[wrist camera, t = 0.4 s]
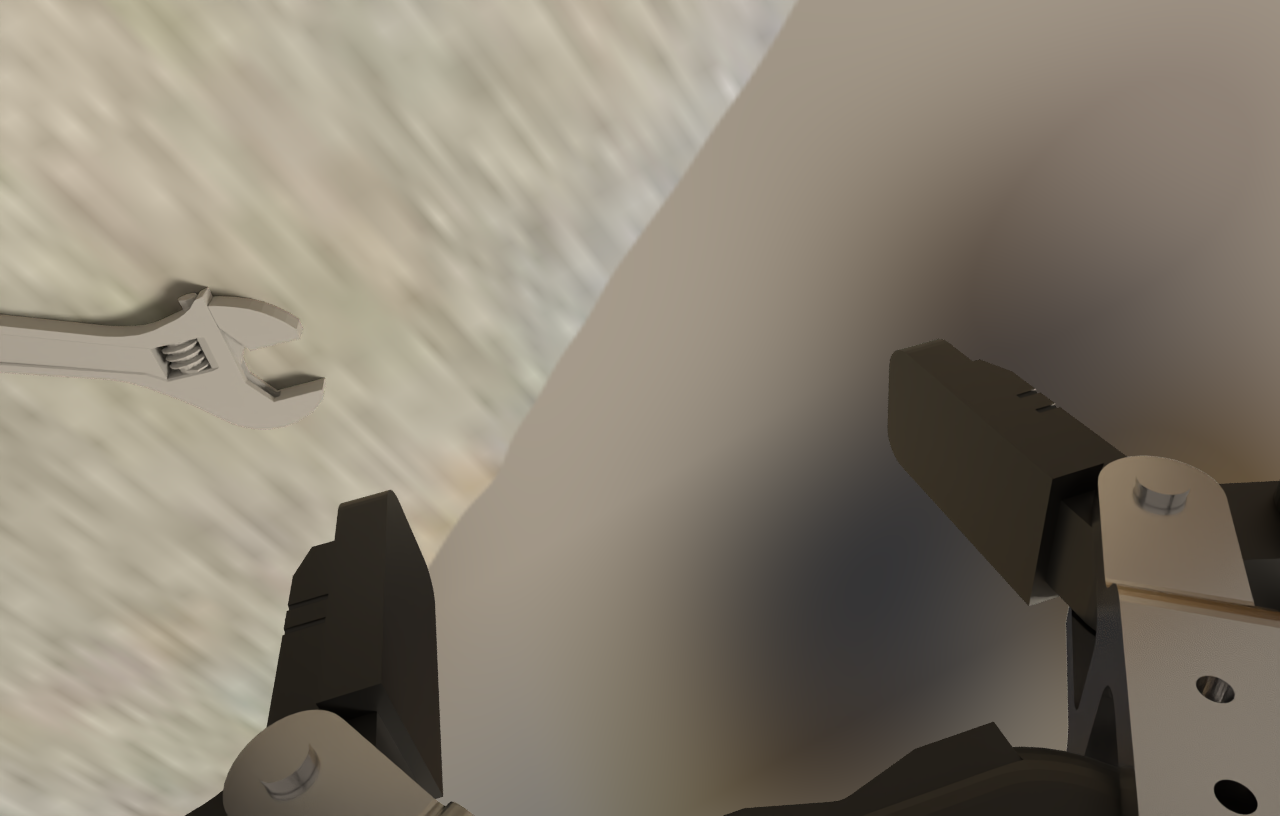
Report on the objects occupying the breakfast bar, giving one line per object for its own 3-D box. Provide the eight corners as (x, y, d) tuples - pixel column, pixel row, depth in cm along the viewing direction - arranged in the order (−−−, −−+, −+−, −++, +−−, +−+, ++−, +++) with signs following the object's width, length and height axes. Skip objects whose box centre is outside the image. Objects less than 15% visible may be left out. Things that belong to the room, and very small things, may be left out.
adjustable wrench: (-361, 331, 31) (-400, 351, 29) (-403, 172, 28) (-449, 184, 27) (315, 420, 40) (312, 438, 38) (332, 305, 37) (329, 320, 36)
